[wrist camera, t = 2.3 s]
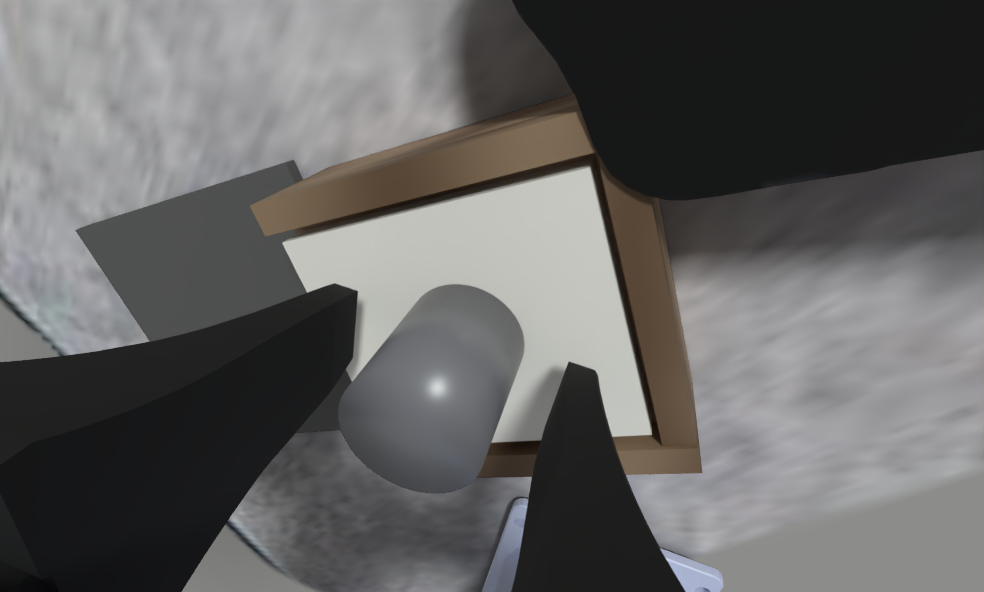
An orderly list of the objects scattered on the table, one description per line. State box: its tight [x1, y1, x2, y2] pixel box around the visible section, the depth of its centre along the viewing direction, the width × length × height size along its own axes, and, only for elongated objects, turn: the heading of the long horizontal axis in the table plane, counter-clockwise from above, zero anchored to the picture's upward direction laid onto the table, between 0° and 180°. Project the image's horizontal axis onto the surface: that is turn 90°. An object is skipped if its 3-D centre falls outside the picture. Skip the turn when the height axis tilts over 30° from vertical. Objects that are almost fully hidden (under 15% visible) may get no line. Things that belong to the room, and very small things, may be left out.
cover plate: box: [282, 158, 652, 493], centre depth 12 cm, size 8×7×4 cm
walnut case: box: [250, 94, 702, 478], centre depth 14 cm, size 9×9×4 cm
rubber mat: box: [76, 160, 352, 433], centre depth 19 cm, size 10×10×1 cm
